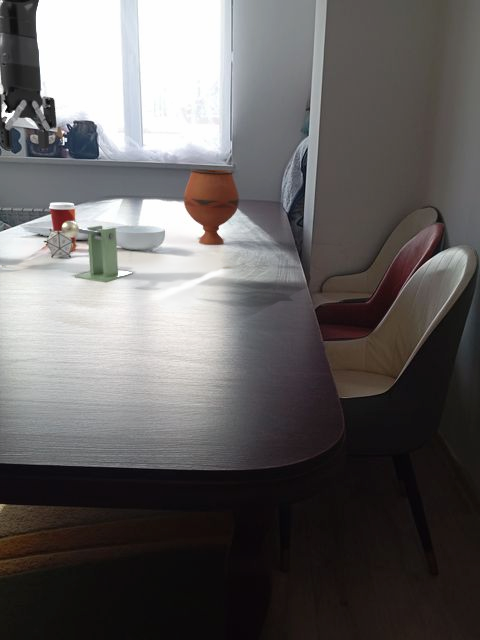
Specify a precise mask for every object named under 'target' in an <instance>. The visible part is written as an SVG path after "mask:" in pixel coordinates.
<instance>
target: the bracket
mask: <svg viewBox="0 0 480 640" xmlns="http://www.w3.org/2000/svg"><path fill="white" fill-rule="evenodd" d="M95 229H101V238H102V240H99V239H94V236H93V235H88V239H87V243H88V244H87V245H88V257H89V271H87V272H85V273H81V274H77V275H74V278H77V279H82V280H83V279H84V280H90V281H95V282H102V283H108V282H111V281H114V280H117V279H121V278H123V277H127V276H129V275H133V271H132V272H131V271H126V270H121V269H119V268H118V267H119V266H118V265H119V264H118V245H117V243H116V228H115V227H110V228H104V229H102V226H100V225H99V226H92V227H87V230H90V231H95Z"/></svg>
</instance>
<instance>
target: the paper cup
mask: <svg viewBox="0 0 480 640" xmlns="http://www.w3.org/2000/svg"><path fill="white" fill-rule="evenodd" d="M48 209H49V211H50V216H51V221H52V224H53V231H62V225H63V223H64V222H66V221H73V222H75V219H76V209H77V207H76V206H75V203H73V202H63V201H62V202H61V201H60V202H59V201H58V202H50V203H49V207H48ZM71 239H72V241H75V242H73V244H76V243H77V240H76V238H75V237H71ZM76 245H77V244H76ZM76 245H75V246H74V245H73V247H72V250H71V252H75V251H76V247H77V246H76Z"/></svg>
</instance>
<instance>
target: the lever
mask: <svg viewBox="0 0 480 640" xmlns="http://www.w3.org/2000/svg"><path fill="white" fill-rule="evenodd" d="M62 232H63V234H64V235H65V236H67V237H75V236H76V235H77V234H78V233H82V234H87V235H93V236H94V239H99V240H102V238H101V229H95V231H90V230H85V229H80V228H78V225H77V224H76V223H75V222H73V221H66V222H64V223H63V225H62Z"/></svg>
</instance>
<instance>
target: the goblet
mask: <svg viewBox="0 0 480 640" xmlns="http://www.w3.org/2000/svg"><path fill="white" fill-rule="evenodd" d="M190 172H191V173H190V176H189V178H188V181H187V185H186V186H185V190H184V195H183V204H184V208H185V210H186V212H187V214H188V215H189V216H190V217H191V218H192V219H193V221H195V223H198V224H199V225H201V226H202V230H204V233H203V234H202V236H201V237H199V241H198V243H200V244H202V243H203V244H202V245H209V246H211V245H213V246H215V245H222V244H224V240H223V238H222V237H221V236H220V234H219V233H218V231H219V230H220V226H222V225H224V224H225V223H227V222H228V221H229V220H231V218H233V216H234V215H235V214H236V212H237V210H238V208H239V205H240V204H239V202H240V198H239V192H238V189H237V185H236V182H235V179H234V177H233V171H230V170H226V169H224V170H223V169H192V168H191V169H190Z"/></svg>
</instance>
